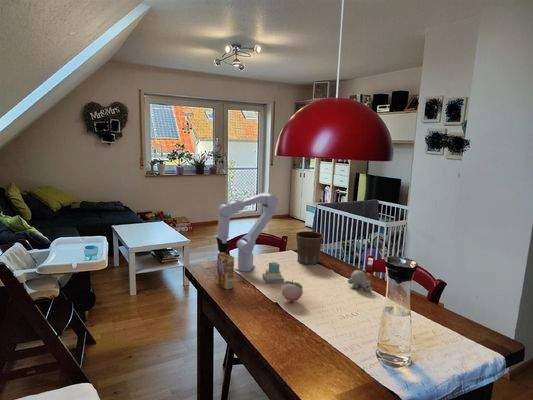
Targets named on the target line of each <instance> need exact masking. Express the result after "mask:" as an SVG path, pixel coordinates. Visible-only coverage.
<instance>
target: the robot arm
mask: <svg viewBox="0 0 533 400" xmlns="http://www.w3.org/2000/svg"><path fill="white" fill-rule="evenodd" d="M278 203H279V201H278V197H277V196H276V195H275V194H271V193H269V192H266V191H265V192H262V193H258V194H256V195H254V196H251V197H248V198H247V199H244V200H241V199H234V201H231V202H226V204H224V203H223V204H220V205H219V207H218V208H217V213H218V220H217V221H218V223H217V233H216V235H215V234H214V238H215V239H216V243H217V251H218V252H219V253H223V252H224V253H226V251H227V249H228V247H229V245H230V243H229V242H227V240H228V239H229V233H230V222H231V221H230V219H231V216H232V215H233V214H235V213H237V212H238V213H239V212H240V211H243V210H244V209H245V208H246V207H248V206H252V205H255V204H261V205H262V208H263V212H262V213H261V215H260V216H259V217H258V218H257V220H256V221H255V223H254V224H253V226H252V227H251V228H250V230H249V231H248V233H246V234H245V235H243V236H242V237H241V238H240V239H238V240H237V242H236V248H237V250H238V251H237V267H234V271H235V270H236V271H240V272H241V271H242V272H248V273H249V272H250V271H251V270H252V269H254V267H255V264H254V253H253V251H254V248H255V246H256V240H257V238H258V237H259V236H260V234H261V233H262V232H263V230H264V229H265V227H267V224H268V223H269V222H270V221H271V219H272V218H273V216H274V215H275V213H276V208H277V205H278Z"/></svg>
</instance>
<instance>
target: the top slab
mask: <svg viewBox="0 0 533 400" xmlns="http://www.w3.org/2000/svg"><path fill="white" fill-rule="evenodd" d="M265 273H266V277H267V279H281V275H282V272H281V270H280V268H279V272H277V273H271V272H270V271H269V268H266V269H265Z"/></svg>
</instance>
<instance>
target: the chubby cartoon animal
mask: <svg viewBox="0 0 533 400" xmlns="http://www.w3.org/2000/svg"><path fill="white" fill-rule="evenodd" d="M347 283H348V284H350V285H352V288H353V289H355V290H357V289H358V288H361V287H362V288H363V290H364V289H365V292H366V293H370V292H371V291H372V290H373V287H372V284H371V283H372V280H368V279H367V275H366V273H365V272H364V271H363V270H360V269H355V270H354V271H353V272H352V273H351V274H350V277H349V279H348V280H347Z"/></svg>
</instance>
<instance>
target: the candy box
mask: <svg viewBox="0 0 533 400" xmlns="http://www.w3.org/2000/svg"><path fill="white" fill-rule="evenodd" d="M216 269H217V272H216V274H217V275H216V278H217V280H216V283H217V285H219V286H220V287H222V288H223V289H226V290H230V289H233V288H234V283H235V281H234V280H235V257H234V256H233V255H230V254H228V253H226V252H225V253H224V252H223V253H220V252H219V253H217V267H216Z"/></svg>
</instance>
